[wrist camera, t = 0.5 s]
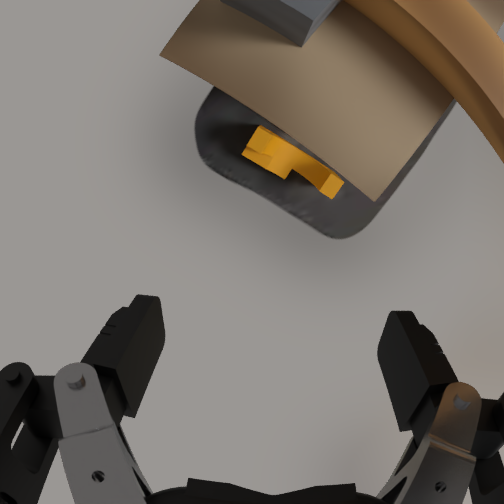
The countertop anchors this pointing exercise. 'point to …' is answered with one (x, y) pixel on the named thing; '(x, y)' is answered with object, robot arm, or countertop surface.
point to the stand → (324, 84)
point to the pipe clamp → (290, 161)
